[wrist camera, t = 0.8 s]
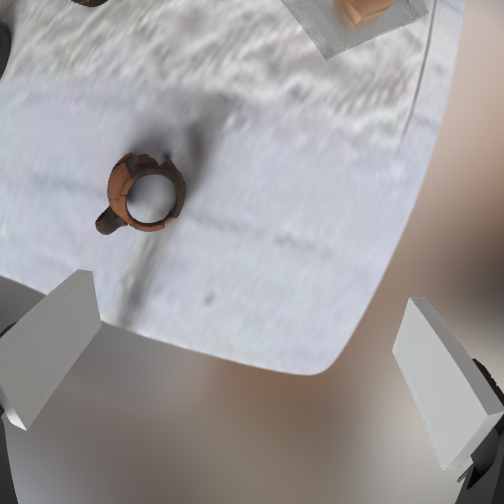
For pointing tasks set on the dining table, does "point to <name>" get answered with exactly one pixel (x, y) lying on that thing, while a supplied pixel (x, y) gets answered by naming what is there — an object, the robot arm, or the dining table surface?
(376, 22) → the aluminium channel
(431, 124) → the dining table surface
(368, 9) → the tan cube
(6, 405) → the robot arm
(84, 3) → the coffee mug
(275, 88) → the dining table surface
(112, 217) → the brown curved piece
